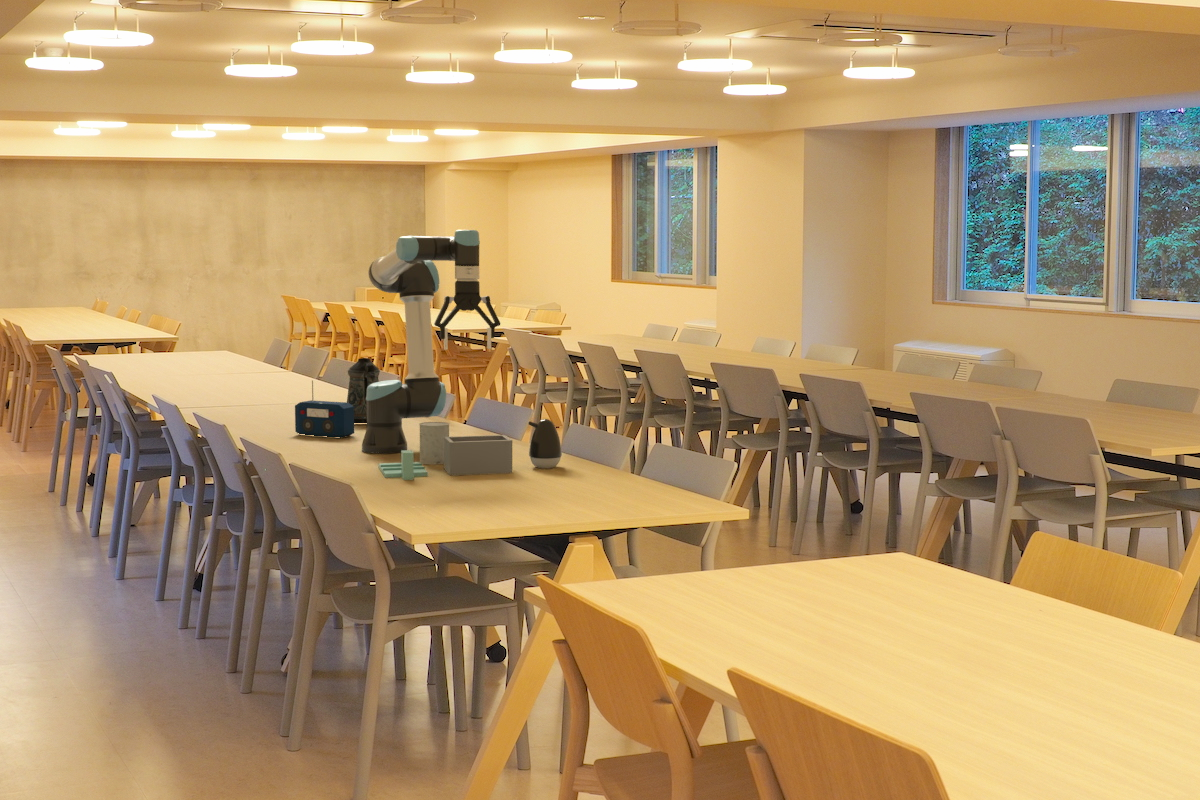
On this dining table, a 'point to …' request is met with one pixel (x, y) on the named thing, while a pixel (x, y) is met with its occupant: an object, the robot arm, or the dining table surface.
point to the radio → (324, 418)
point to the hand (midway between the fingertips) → (467, 349)
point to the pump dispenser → (545, 445)
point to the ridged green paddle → (403, 467)
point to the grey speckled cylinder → (433, 442)
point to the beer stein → (361, 387)
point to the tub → (477, 455)
